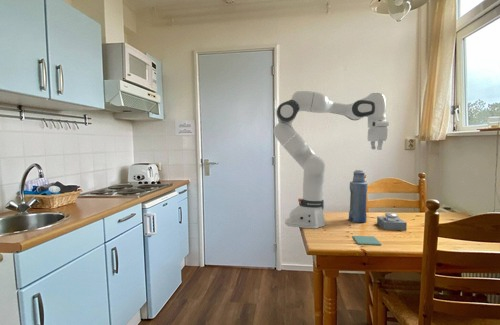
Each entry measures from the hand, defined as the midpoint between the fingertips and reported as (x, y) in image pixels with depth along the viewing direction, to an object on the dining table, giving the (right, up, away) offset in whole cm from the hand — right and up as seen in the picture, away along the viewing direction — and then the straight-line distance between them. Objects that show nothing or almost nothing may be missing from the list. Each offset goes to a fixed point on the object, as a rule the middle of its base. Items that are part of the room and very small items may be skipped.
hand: (376, 149), depth 146 cm
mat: (-14, -44, -20) cm, 50 cm away
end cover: (+9, -42, +1) cm, 43 cm away
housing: (+9, -42, +1) cm, 43 cm away
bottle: (-5, -42, +13) cm, 44 cm away
